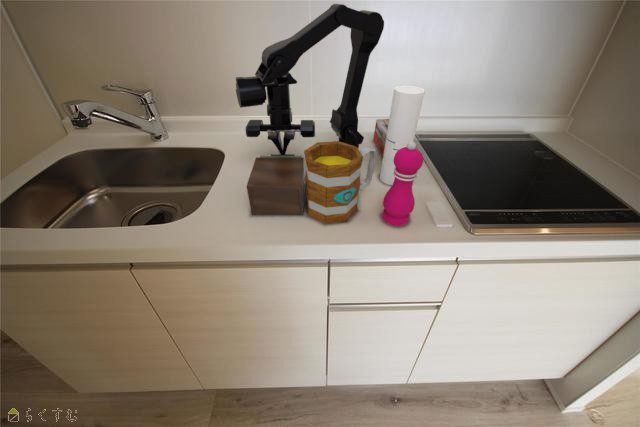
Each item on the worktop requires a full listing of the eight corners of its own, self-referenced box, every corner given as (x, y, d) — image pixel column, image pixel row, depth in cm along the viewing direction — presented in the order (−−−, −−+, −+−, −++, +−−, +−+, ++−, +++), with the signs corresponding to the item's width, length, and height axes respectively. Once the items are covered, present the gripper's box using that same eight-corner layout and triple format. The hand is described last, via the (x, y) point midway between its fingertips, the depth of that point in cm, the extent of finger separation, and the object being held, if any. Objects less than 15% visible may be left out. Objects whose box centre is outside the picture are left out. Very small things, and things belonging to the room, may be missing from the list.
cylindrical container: (389, 169, 88) (404, 83, 73) (409, 178, 84) (430, 89, 69) (374, 178, 84) (388, 89, 69) (395, 188, 80) (414, 96, 65)
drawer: (265, 168, 87) (262, 147, 82) (303, 168, 87) (302, 147, 82) (256, 202, 73) (252, 180, 69) (300, 202, 73) (299, 180, 69)
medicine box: (372, 139, 104) (375, 118, 99) (394, 139, 105) (398, 117, 100) (384, 160, 93) (387, 136, 88) (408, 159, 93) (413, 135, 88)
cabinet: (260, 184, 81) (255, 157, 76) (304, 184, 81) (303, 157, 76) (251, 215, 71) (246, 186, 65) (302, 215, 71) (301, 185, 66)
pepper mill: (377, 209, 73) (389, 134, 60) (404, 208, 73) (423, 133, 61) (384, 228, 67) (400, 150, 55) (414, 226, 68) (436, 149, 55)
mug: (322, 231, 66) (323, 175, 57) (295, 201, 75) (292, 149, 66) (386, 204, 74) (396, 152, 65) (354, 180, 83) (359, 131, 74)
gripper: (315, 93, 81) (315, 144, 91) (249, 92, 81) (256, 143, 91) (314, 106, 73) (314, 161, 83) (240, 106, 73) (250, 161, 82)
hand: (283, 156), depth 85 cm, fingers closed
